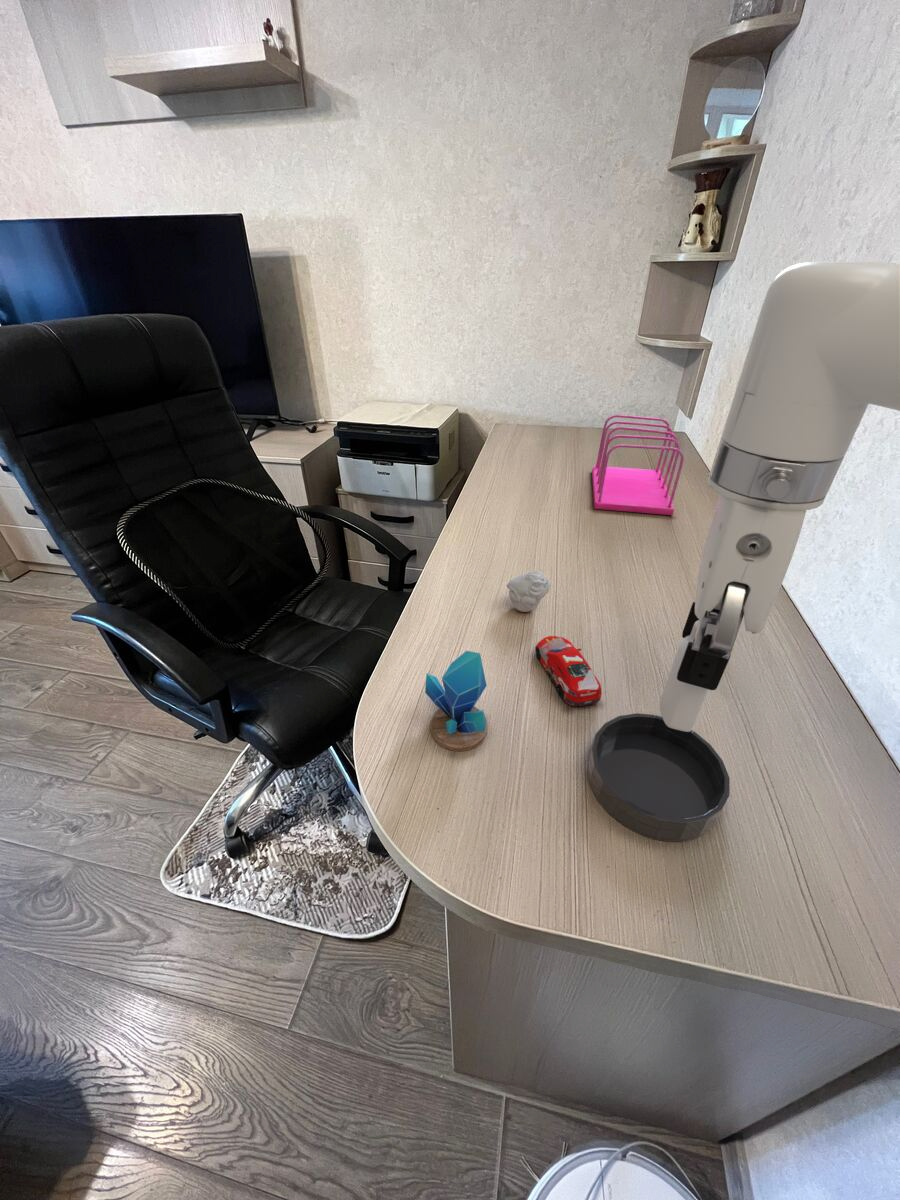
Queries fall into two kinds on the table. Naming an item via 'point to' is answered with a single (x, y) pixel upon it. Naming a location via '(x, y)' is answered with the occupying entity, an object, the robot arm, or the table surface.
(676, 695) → the eye dropper bottle
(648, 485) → the file sorter
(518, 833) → the table surface
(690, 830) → the pan
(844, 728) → the table surface
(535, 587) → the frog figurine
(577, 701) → the race car
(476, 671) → the gemstone
